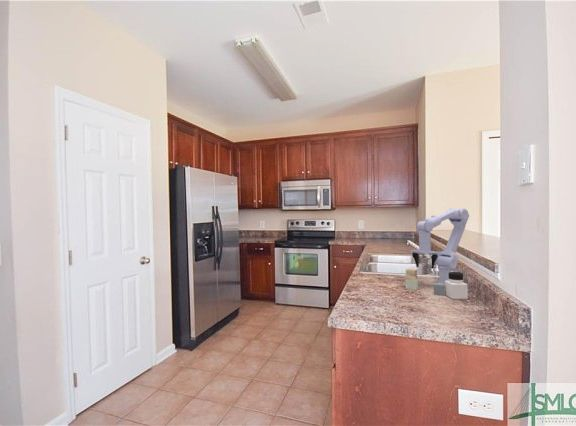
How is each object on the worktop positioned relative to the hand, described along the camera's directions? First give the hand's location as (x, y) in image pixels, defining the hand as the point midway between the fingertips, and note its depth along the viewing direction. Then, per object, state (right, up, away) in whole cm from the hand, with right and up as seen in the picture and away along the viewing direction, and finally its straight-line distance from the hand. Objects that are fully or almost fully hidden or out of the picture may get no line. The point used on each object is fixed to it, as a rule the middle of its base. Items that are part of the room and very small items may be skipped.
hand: (425, 267), depth 154 cm
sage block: (-9, -11, -3) cm, 14 cm away
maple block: (-9, -6, -3) cm, 11 cm away
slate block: (0, -11, -14) cm, 18 cm away
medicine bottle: (+5, -11, -20) cm, 23 cm away
